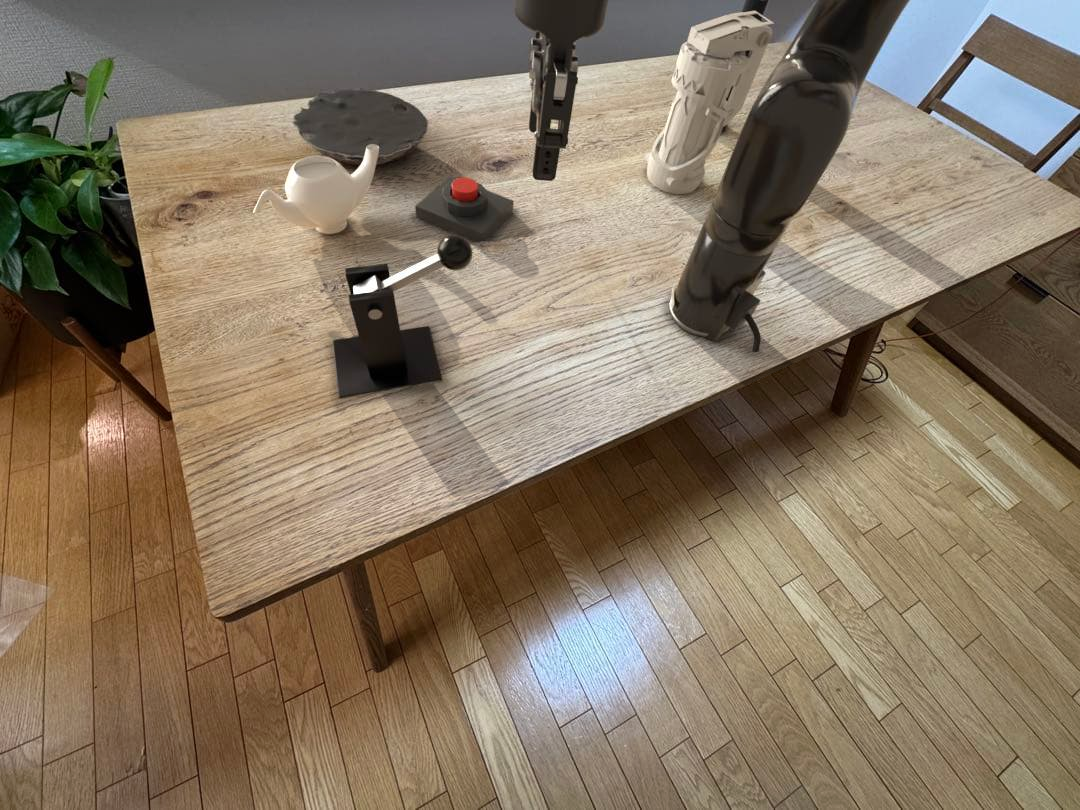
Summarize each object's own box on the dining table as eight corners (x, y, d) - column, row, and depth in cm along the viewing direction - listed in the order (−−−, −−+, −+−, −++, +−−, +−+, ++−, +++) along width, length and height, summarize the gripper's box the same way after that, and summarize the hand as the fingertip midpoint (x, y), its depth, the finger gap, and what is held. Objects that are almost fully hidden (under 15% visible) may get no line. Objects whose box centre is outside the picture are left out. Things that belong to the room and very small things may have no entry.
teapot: (252, 233, 75) (226, 174, 68) (369, 187, 85) (358, 130, 77) (286, 268, 72) (264, 210, 64) (404, 216, 81) (397, 160, 74)
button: (482, 193, 81) (482, 183, 79) (469, 206, 78) (469, 195, 77) (460, 184, 81) (460, 174, 80) (447, 197, 79) (446, 186, 78)
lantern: (664, 199, 91) (718, 37, 71) (634, 167, 96) (677, 7, 76) (721, 187, 95) (789, 31, 75) (690, 157, 100) (745, 3, 80)
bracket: (429, 331, 68) (419, 247, 57) (442, 385, 64) (435, 304, 52) (334, 346, 65) (304, 259, 54) (340, 403, 61) (309, 321, 49)
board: (417, 112, 99) (414, 84, 95) (442, 177, 88) (440, 148, 84) (296, 119, 94) (287, 89, 89) (305, 190, 82) (296, 159, 78)
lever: (473, 245, 56) (458, 221, 52) (481, 268, 54) (466, 244, 51) (368, 298, 57) (348, 278, 54) (372, 322, 55) (351, 301, 52)
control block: (512, 212, 85) (514, 190, 81) (482, 245, 79) (482, 223, 76) (450, 187, 87) (449, 165, 83) (416, 218, 81) (413, 195, 78)
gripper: (629, -9, 35) (584, 199, 49) (604, -75, 43) (571, 120, 57) (521, -24, 34) (504, 193, 48) (515, -88, 42) (503, 113, 56)
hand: (540, 153), depth 52 cm, fingers open, 8 cm apart
